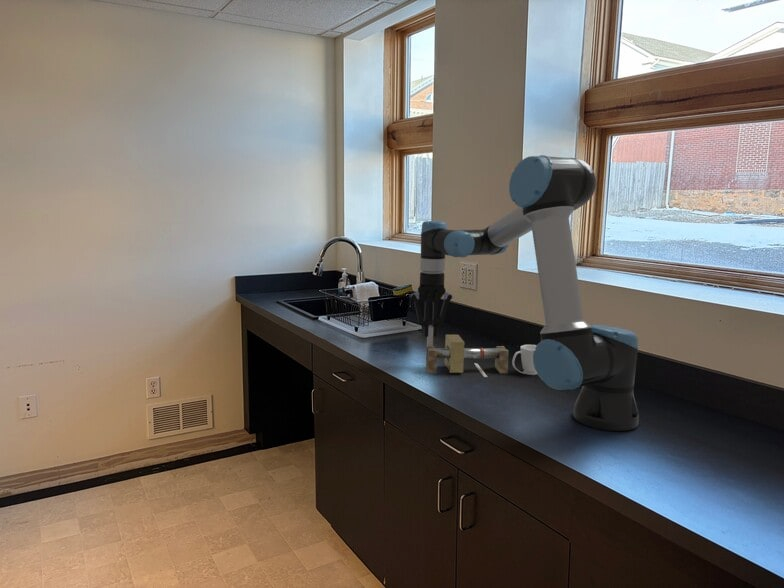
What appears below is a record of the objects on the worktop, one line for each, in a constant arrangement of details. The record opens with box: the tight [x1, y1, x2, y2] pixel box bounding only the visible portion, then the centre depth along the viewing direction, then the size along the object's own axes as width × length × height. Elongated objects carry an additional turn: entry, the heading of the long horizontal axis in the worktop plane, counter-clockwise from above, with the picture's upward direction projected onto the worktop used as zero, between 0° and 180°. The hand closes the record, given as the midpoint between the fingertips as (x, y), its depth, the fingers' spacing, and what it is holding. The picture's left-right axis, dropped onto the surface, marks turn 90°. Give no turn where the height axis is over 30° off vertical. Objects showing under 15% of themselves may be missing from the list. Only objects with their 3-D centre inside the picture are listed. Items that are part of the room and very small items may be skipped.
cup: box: [511, 344, 538, 376], centre depth 184 cm, size 7×10×8 cm
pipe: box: [428, 347, 507, 360], centre depth 185 cm, size 24×3×3 cm, turn 95°
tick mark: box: [473, 362, 488, 378], centre depth 186 cm, size 1×14×1 cm, turn 5°
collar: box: [444, 334, 465, 374], centre depth 184 cm, size 4×9×9 cm, turn 5°
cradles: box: [425, 345, 509, 375], centre depth 185 cm, size 24×6×7 cm, turn 95°
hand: (429, 346), depth 188 cm, fingers closed
